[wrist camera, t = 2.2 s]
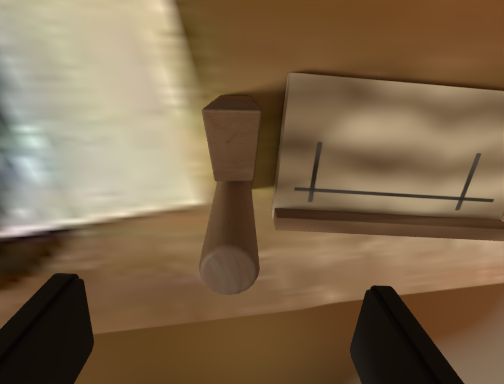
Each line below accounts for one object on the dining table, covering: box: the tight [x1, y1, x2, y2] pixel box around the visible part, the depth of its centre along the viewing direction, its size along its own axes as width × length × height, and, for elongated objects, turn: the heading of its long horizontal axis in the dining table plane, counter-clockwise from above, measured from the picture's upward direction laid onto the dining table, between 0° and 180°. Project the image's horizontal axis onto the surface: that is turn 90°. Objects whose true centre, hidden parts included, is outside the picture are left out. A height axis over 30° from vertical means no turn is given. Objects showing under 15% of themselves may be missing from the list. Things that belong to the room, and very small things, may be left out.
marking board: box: [271, 73, 504, 241], centre depth 31 cm, size 16×28×4 cm, turn 85°
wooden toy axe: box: [199, 95, 262, 295], centre depth 23 cm, size 4×11×18 cm, turn 179°
